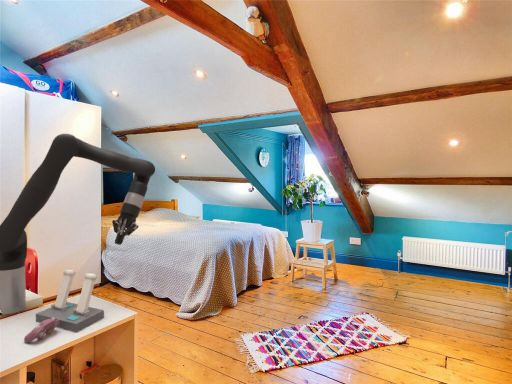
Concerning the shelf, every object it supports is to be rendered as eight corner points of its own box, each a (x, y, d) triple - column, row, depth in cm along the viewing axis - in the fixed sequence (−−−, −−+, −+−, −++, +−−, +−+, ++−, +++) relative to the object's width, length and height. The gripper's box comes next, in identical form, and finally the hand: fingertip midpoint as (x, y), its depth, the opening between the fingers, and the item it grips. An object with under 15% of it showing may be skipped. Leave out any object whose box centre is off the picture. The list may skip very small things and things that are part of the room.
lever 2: (74, 312, 116) (85, 272, 120) (79, 312, 119) (90, 273, 122) (81, 314, 115) (92, 273, 119) (87, 314, 117) (97, 274, 121)
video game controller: (32, 349, 102) (40, 331, 101) (21, 341, 103) (29, 323, 102) (57, 334, 112) (64, 317, 111) (47, 326, 112) (54, 310, 111)
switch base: (35, 321, 117) (35, 309, 117) (65, 308, 128) (65, 297, 128) (76, 332, 110) (76, 319, 110) (103, 317, 121) (103, 306, 121)
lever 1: (52, 307, 120) (64, 268, 124) (58, 307, 122) (69, 269, 126) (59, 309, 119) (71, 270, 123) (65, 309, 121) (76, 270, 125)
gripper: (114, 200, 136) (99, 239, 131) (138, 203, 131) (123, 245, 126) (126, 205, 142) (112, 243, 137) (149, 209, 137) (135, 249, 132)
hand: (117, 244), depth 131 cm, fingers closed
